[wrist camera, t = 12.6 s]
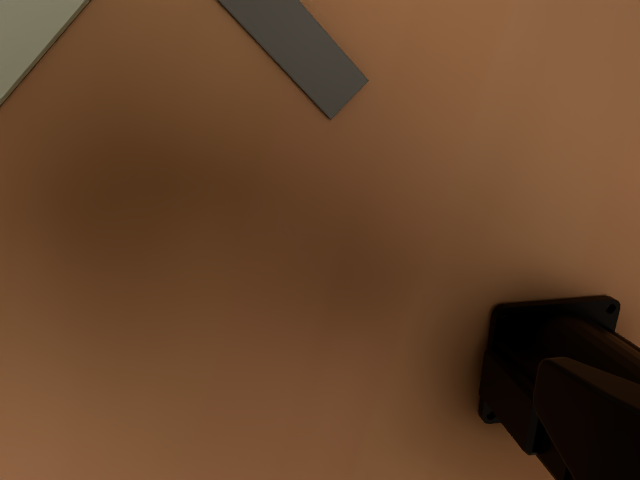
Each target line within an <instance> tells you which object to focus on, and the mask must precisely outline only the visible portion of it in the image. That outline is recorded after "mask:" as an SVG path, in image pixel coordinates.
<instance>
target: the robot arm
mask: <svg viewBox="0 0 640 480" xmlns="http://www.w3.org/2000/svg"><path fill="white" fill-rule="evenodd" d="M608 306H609V307H608ZM607 307H608V308H607ZM619 311H620V303H619V302H618V301H617V300H616V299H614V298H612V297H610V296H601V297H588V298H574V299H561V300H547V301H534V302H520V303H507V304H500V305H498V306H496V307H495V308H494V310H493V312H492V316H491V323H490V330H489V337H488V345H487V349H486V350H485V353H484V360H483V367H482V375H481V382H480V389H479V395H480V403H479V410H478V414H479V416H480V417H481V419H482V420H483V421H484V422H485V423H486V424H493V423H502V424H503V425H504V427H505V428H506V429H507V431H508V432H509V433H510V434H511V436H512V437H513V438H514V440H515V441H516V442H517V443H518V445H519V446H520V447H521V449H522V450H523V451H524V452H525V453H527V454H528V455H536V456H537V457H538V459H539V460H540V461H541V462H542V464H543V465H544V466H545V467H546V469H547V470H548V471H549V472H550V474H551V475H552V476H553V477H554V478H555V480H640V348H639V347H637V346H636V345H634V344H633V343H631V342H630V341H628V340H627V339H625V338H624V337H622V336H621V335H619V334H618V333H616V332H615V328H616V324H617V320H618V315H619ZM506 312H507V313H506ZM504 313H506V316H504V317H503V318H501V316H502V315H503V314H504ZM489 412H491V413H490V414H488V413H489Z"/></svg>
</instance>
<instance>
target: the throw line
mask: <svg viewBox="0 0 640 480" xmlns="http://www.w3.org/2000/svg"><path fill="white" fill-rule="evenodd" d="M218 1H219V2H220V3H221V4H222V5H223V6H224V8H225V9H226V10H227V11H228V12H229V13H230V14H231V15H232V16H233V17H234V18H235V19H236V20H237V21H238V22H239V23H240V24H241V26H242V27H243V28H244V29H245V30H246V31H247V32H248V33H249V34H250V35H251V36H252V37H253V38H254V39H255V40H256V41H257V42H258V44H259V45H260V46H261V47H262V48H263V49H264V50H265V51H266V52H267V53H268V54H269V55H270V56H271V57H272V58H273V59H274V60H275V62H276V63H277V64H278V65H279V66H280V67H281V68H282V69H283V70H284V71H285V72H286V73H287V74H288V75H289V76H290V77H291V78H292V80H293V81H294V82H295V83H296V84H297V85H298V86H299V87H300V88H301V89H302V90H303V91H304V92H305V93H306V94H307V95H308V96H309V98H310V99H311V100H312V101H313V102H314V103H315V104H316V105H317V106H318V107H319V108H320V109H321V110H322V111H323V112H324V113H325V115H326V116H327V117H328V118H329V119H332V118H333V117H334V116H335V115H336V114H337V113H338V112H339V111H340V110H341V109H342V108H343V107H344V106H345V105H346V104H347V102H348V101H349V100H350V99H351V98H352V97H353V96H354V95H355V94H356V93H357V92H358V91H359V90H360V89H361V88H362V87H363V86H364V85H365V84H366V83H367V82H368V81H369V80H368V79H367V78H366V77H365V76H364V75H363V74H362V72H361V71H360V70H359V69H358V68H357V67H356V66H355V64H354V63H353V62H352V61H351V60H350V59H349V58H348V56H347V55H346V54H345V53H344V52H343V51H342V49H341V48H340V47H339V46H338V45H337V44H336V43H335V41H334V40H333V39H332V38H331V37H330V36H329V35H328V33H327V32H326V31H325V30H324V29H323V28H322V27H321V25H320V24H319V23H318V22H317V21H316V20H315V19H314V17H313V16H312V15H311V14H310V13H309V12H308V11H307V9H306V8H305V7H304V6H303V5H302V4H301V2H300V1H299V0H218Z"/></svg>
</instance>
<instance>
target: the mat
mask: <svg viewBox="0 0 640 480" xmlns="http://www.w3.org/2000/svg"><path fill="white" fill-rule="evenodd" d="M89 1H90V0H0V105H1V104H2V103H3V102H4V101H5V100H6V98H7V97H8V96H9V95H10V94H11V93H12V91H13V90H14V89H15V88H16V87H17V85H18V84H19V83H20V82H21V81H22V80H23V78H24V77H25V76H26V75H27V74H28V73H29V71H30V70H31V69H32V68H33V67H34V66H35V64H36V63H37V62H38V61H39V60H40V59H41V57H42V56H43V55H44V54H45V53H46V52H47V50H48V49H49V48H50V47H51V46H52V45H53V43H54V42H55V41H56V40H57V39H58V38H59V36H60V35H61V34H62V33H63V32H64V30H65V29H66V28H67V27H68V26H69V25H70V23H71V22H72V21H73V20H74V19H75V18H76V16H77V15H78V14H79V13H80V12H81V11H82V9H83V8H84V7H85V6H86V5H87V4H88V2H89Z"/></svg>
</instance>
